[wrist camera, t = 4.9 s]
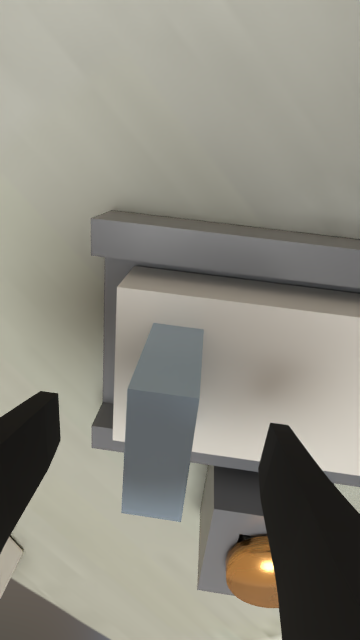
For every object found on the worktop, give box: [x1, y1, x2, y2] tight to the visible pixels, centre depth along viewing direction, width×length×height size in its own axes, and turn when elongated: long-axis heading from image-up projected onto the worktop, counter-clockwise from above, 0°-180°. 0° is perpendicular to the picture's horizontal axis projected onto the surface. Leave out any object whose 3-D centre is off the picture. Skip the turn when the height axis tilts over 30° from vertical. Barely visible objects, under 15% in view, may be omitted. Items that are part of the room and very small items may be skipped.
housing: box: [91, 210, 360, 596], centre depth 18 cm, size 16×19×5 cm
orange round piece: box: [226, 534, 279, 608], centre depth 19 cm, size 4×4×4 cm
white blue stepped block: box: [113, 266, 360, 522], centre depth 14 cm, size 12×8×8 cm, turn 84°
